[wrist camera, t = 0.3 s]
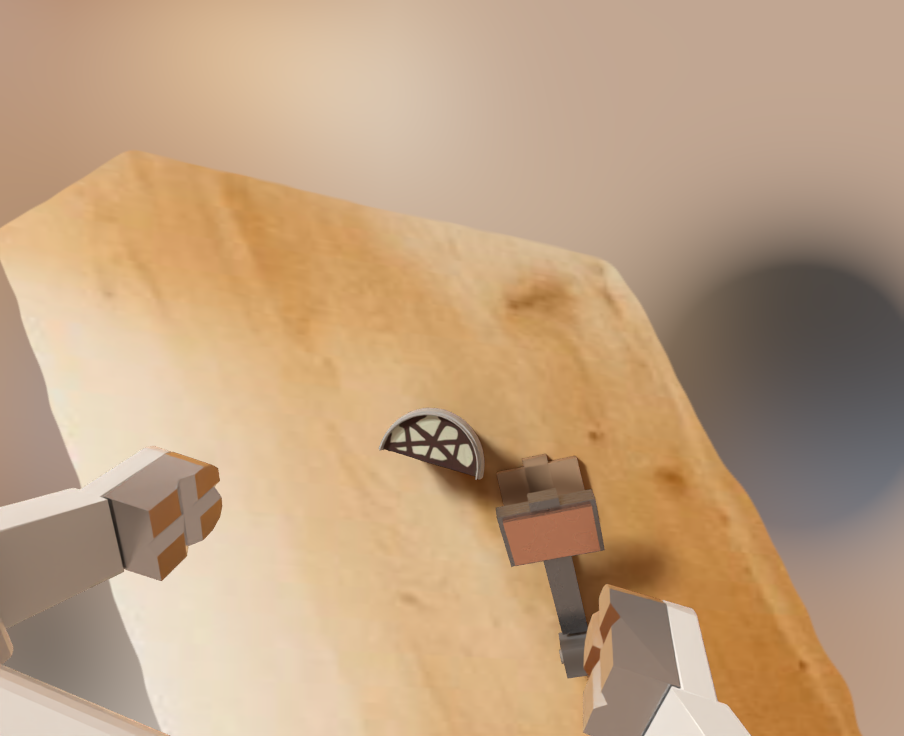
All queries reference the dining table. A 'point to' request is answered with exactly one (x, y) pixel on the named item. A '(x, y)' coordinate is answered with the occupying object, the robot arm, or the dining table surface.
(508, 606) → the dining table surface
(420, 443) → the food container
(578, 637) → the walnut jaw
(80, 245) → the dining table surface
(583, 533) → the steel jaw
